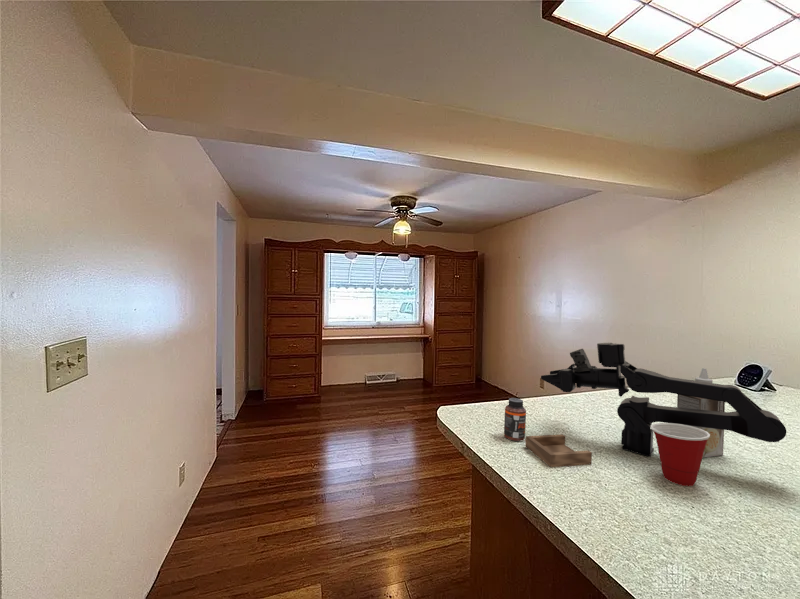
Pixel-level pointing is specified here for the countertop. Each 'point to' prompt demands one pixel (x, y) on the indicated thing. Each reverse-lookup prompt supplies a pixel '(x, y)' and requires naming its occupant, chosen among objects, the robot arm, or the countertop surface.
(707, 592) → the countertop surface
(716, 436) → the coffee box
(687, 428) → the plastic cup
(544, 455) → the tray
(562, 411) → the countertop surface
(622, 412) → the robot arm
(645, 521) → the countertop surface
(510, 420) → the supplement bottle
